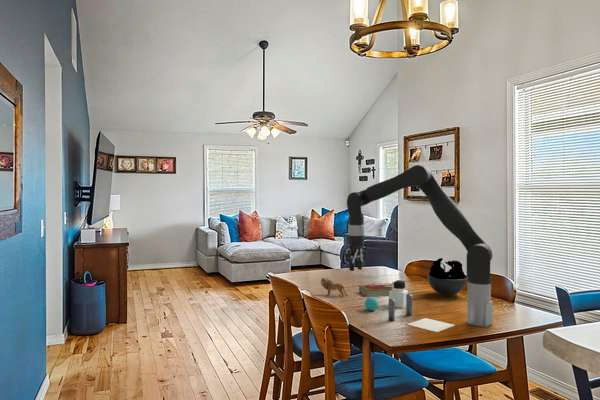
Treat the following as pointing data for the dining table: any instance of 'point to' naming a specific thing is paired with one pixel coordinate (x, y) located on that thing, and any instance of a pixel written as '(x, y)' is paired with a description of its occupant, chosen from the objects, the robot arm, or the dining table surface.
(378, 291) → the hardcover book
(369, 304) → the ball
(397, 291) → the medicine bottle
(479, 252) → the robot arm
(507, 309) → the dining table surface
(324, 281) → the lion figurine
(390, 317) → the left post
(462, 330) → the dining table surface
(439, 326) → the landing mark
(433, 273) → the coal bowl
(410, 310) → the right post
